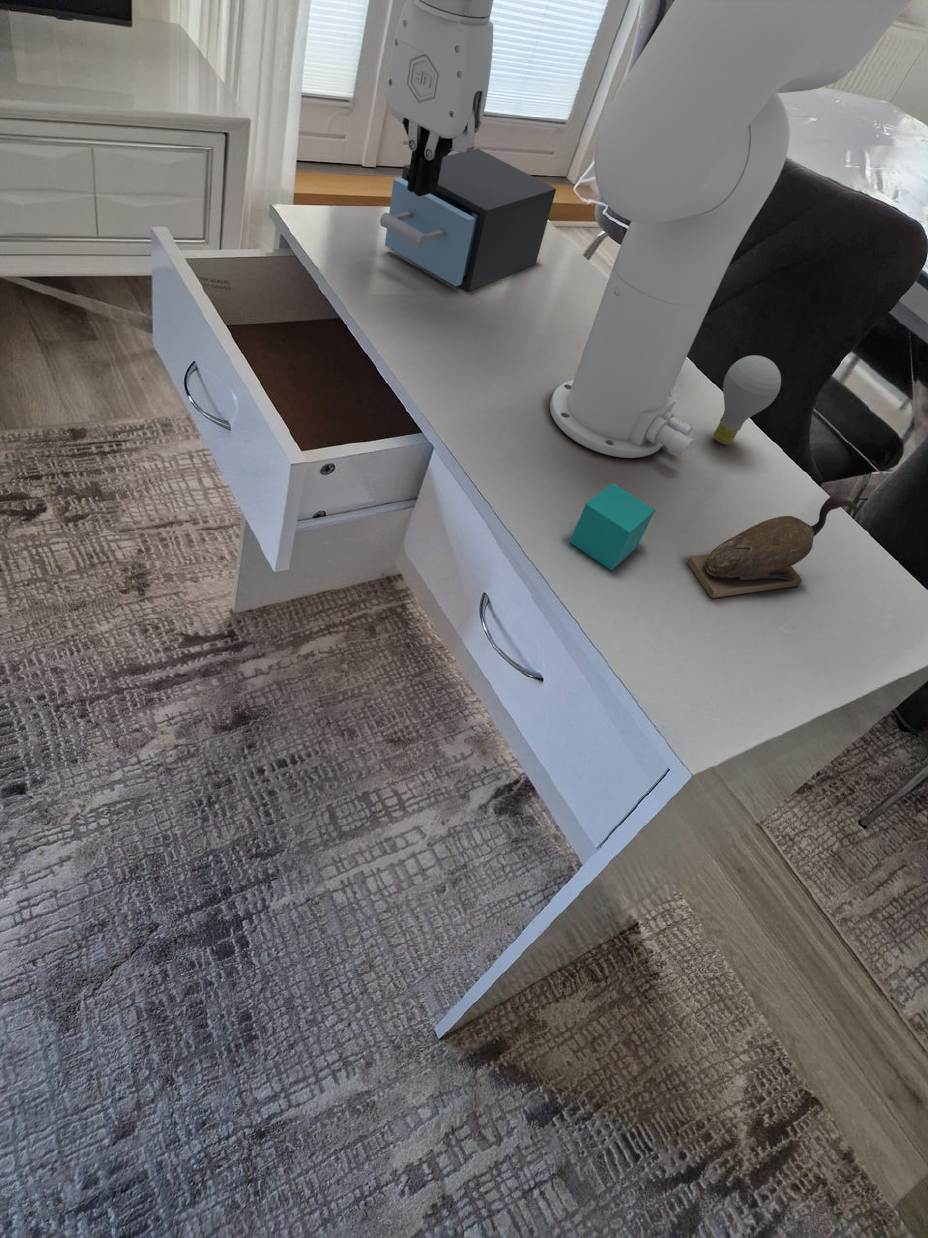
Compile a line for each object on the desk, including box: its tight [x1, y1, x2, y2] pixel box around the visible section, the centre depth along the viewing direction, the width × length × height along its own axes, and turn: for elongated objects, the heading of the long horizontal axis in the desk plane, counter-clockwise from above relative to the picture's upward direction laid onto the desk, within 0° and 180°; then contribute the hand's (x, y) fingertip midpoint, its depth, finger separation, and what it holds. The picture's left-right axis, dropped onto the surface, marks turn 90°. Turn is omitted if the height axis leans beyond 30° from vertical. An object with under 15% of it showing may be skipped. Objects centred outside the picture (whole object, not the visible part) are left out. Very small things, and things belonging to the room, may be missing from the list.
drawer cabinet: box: [401, 148, 557, 292], centre depth 101 cm, size 15×13×10 cm
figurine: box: [687, 494, 858, 599], centre depth 71 cm, size 14×4×9 cm, turn 110°
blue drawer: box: [379, 176, 480, 287], centre depth 98 cm, size 18×11×8 cm, turn 141°
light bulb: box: [713, 354, 782, 445], centre depth 84 cm, size 5×6×10 cm
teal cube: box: [569, 482, 656, 571], centre depth 70 cm, size 4×4×4 cm
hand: (421, 190), depth 91 cm, fingers closed
